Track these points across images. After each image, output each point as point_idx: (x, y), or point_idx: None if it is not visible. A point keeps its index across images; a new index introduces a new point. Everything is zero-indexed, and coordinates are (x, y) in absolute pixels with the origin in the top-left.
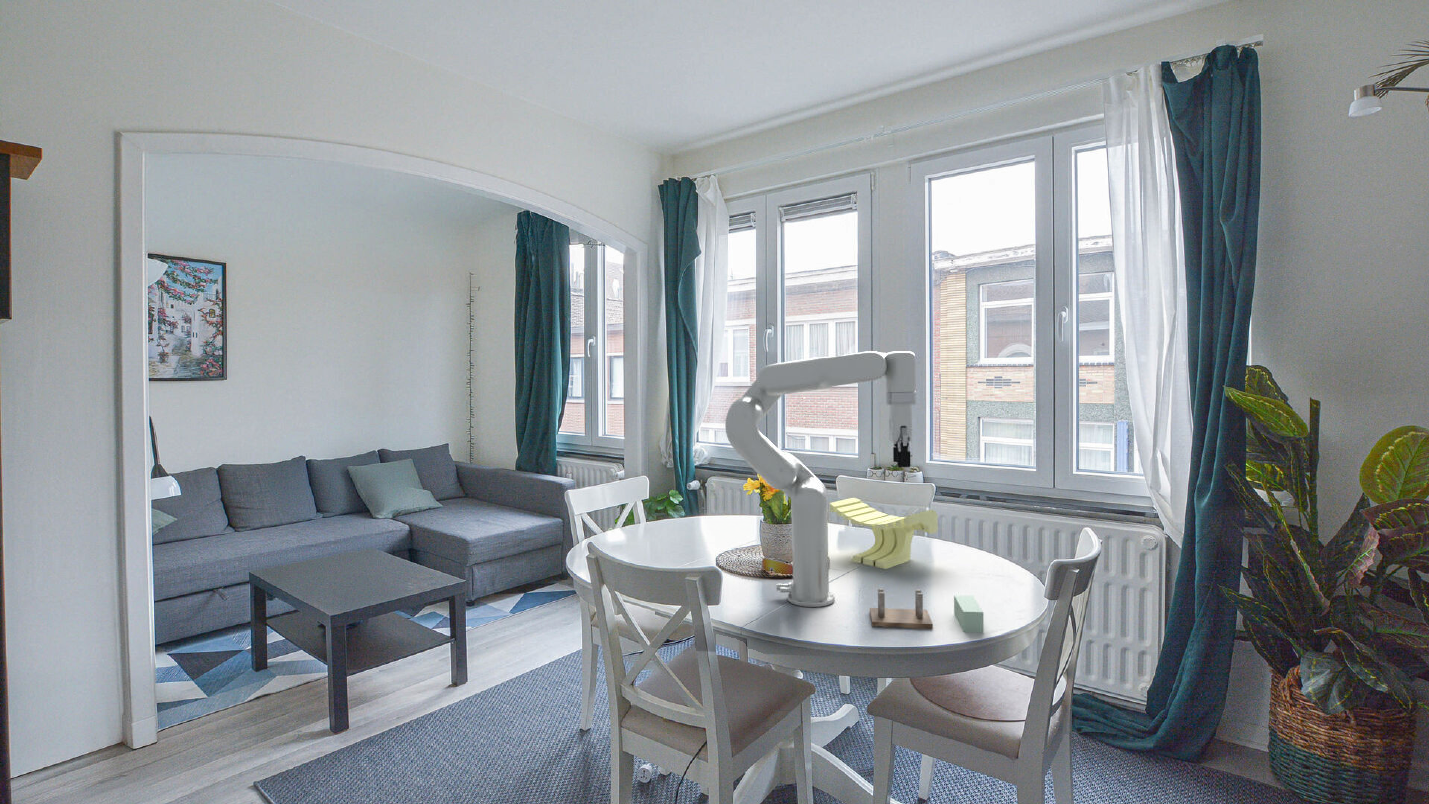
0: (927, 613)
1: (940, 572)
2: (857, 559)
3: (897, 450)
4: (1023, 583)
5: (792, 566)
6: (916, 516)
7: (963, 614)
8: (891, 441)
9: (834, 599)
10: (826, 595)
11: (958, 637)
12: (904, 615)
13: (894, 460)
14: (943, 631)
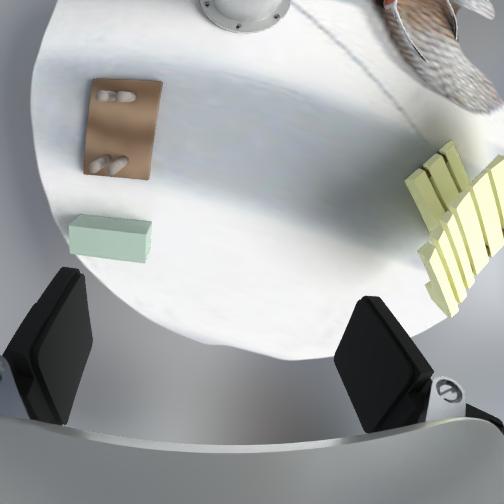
0: (128, 176)
1: (365, 262)
2: (446, 148)
3: (387, 379)
4: (288, 350)
5: (393, 2)
6: (434, 277)
7: (70, 224)
8: (64, 439)
9: (230, 30)
10: (223, 13)
11: (59, 201)
12: (120, 135)
13: (362, 304)
14: (78, 186)
